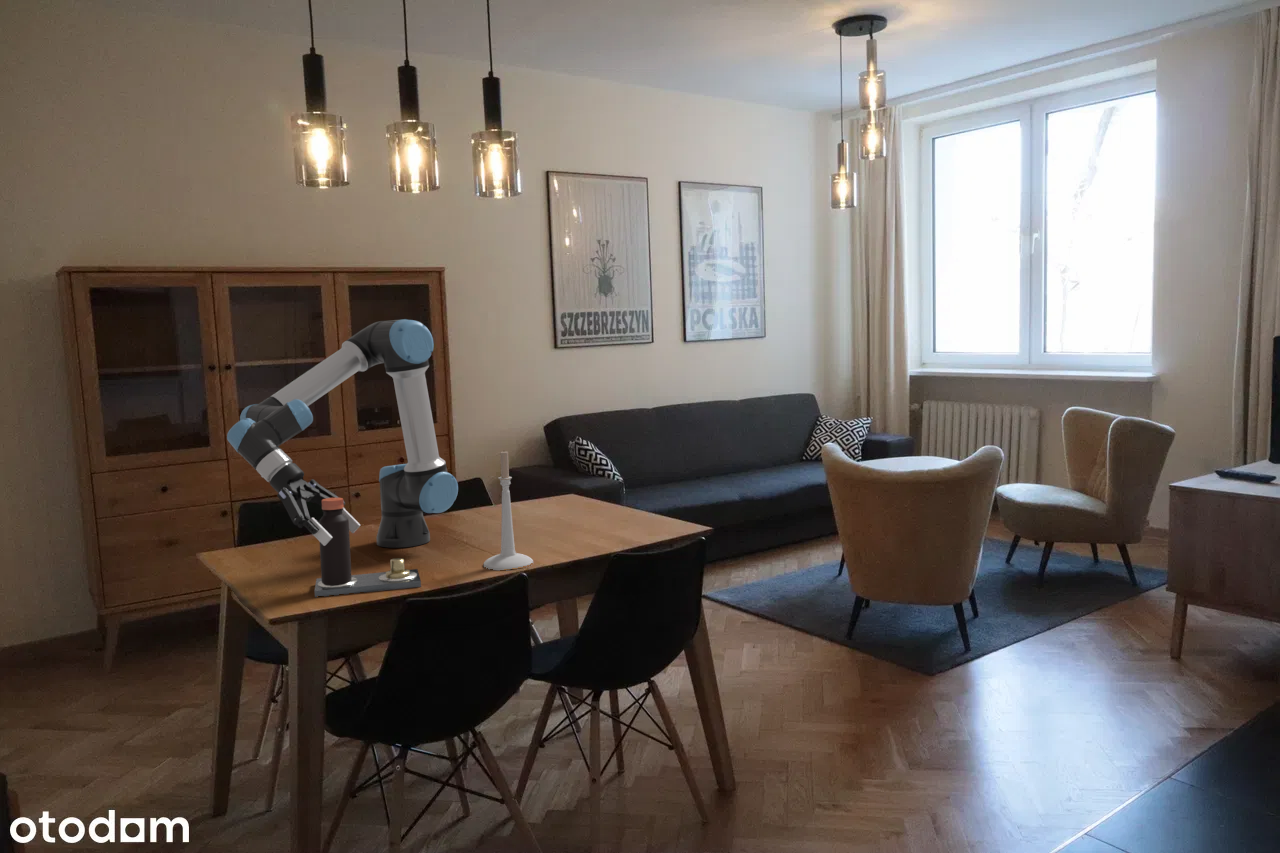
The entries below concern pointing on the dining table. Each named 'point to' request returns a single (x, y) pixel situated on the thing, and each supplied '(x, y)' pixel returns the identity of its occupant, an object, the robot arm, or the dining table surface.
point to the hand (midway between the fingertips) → (343, 535)
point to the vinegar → (335, 544)
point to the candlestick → (506, 528)
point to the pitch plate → (374, 581)
